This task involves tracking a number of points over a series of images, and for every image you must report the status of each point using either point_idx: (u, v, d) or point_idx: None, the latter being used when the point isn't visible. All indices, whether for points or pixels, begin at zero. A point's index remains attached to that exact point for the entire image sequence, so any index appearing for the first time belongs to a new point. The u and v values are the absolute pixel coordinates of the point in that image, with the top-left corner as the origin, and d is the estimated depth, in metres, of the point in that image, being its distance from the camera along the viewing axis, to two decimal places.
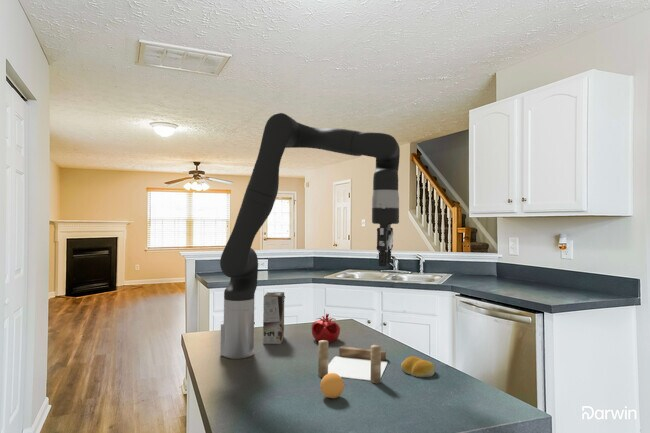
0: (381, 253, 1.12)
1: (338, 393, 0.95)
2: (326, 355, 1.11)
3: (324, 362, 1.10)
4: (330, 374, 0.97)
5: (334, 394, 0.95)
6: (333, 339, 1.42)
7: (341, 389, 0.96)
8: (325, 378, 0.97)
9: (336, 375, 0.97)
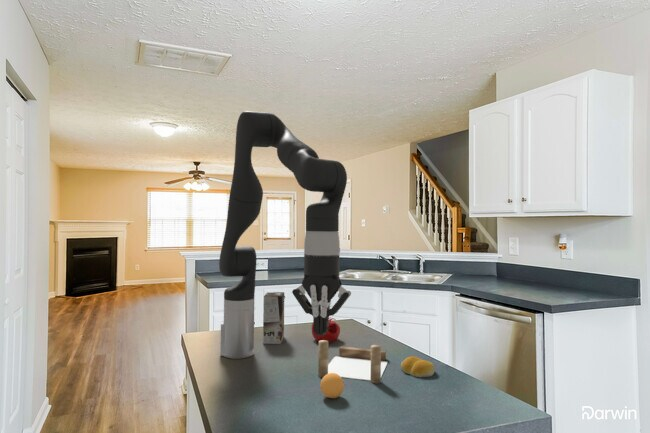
0: (327, 318, 0.88)
1: (338, 393, 0.95)
2: (326, 355, 1.11)
3: (324, 362, 1.10)
4: (330, 374, 0.97)
5: (334, 394, 0.95)
6: (333, 339, 1.42)
7: (341, 389, 0.96)
8: (325, 378, 0.97)
9: (336, 375, 0.97)
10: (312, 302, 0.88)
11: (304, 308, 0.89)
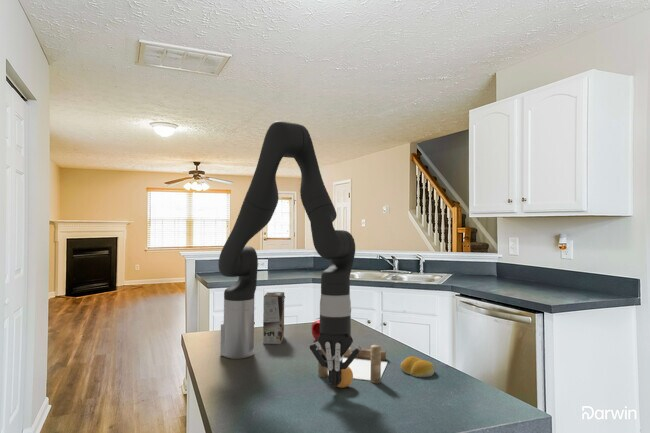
0: (340, 371, 1.00)
1: (348, 373, 1.02)
2: None
3: None
4: None
5: (345, 370, 1.02)
6: None
7: (351, 374, 1.03)
8: None
9: None
10: (327, 357, 0.99)
11: (320, 362, 1.00)
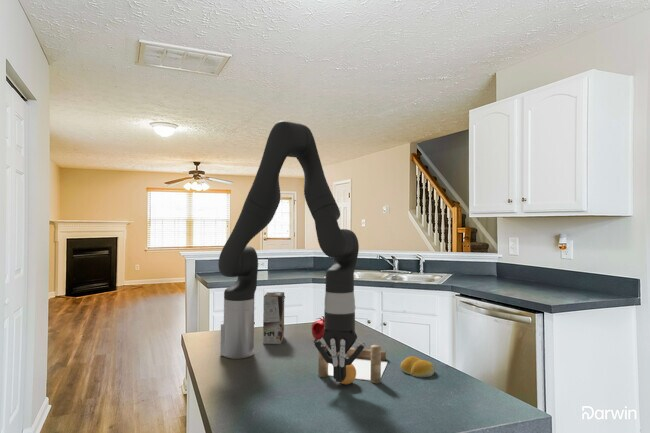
0: (345, 367, 1.02)
1: (353, 368, 1.05)
2: None
3: (324, 362, 1.10)
4: None
5: (350, 365, 1.05)
6: None
7: (355, 371, 1.05)
8: None
9: None
10: (332, 353, 1.02)
11: (325, 358, 1.03)
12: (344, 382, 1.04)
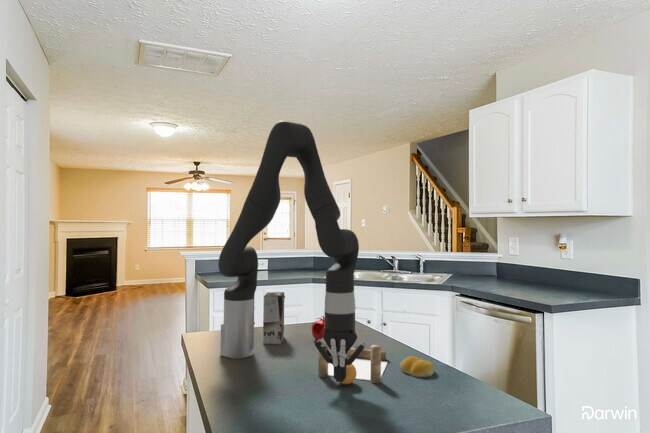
0: (345, 367, 1.02)
1: (353, 368, 1.05)
2: None
3: (324, 362, 1.10)
4: None
5: (351, 364, 1.05)
6: None
7: (355, 371, 1.05)
8: None
9: None
10: (332, 353, 1.02)
11: (325, 358, 1.03)
12: (344, 382, 1.04)
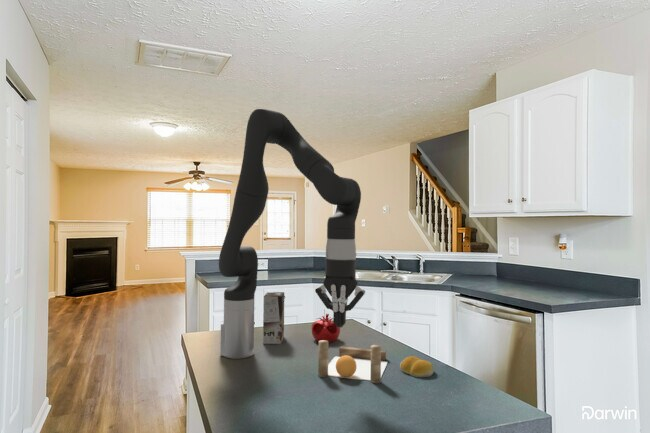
0: (345, 313, 1.04)
1: None
2: (326, 355, 1.11)
3: (324, 362, 1.10)
4: None
5: None
6: (333, 339, 1.42)
7: None
8: None
9: (351, 375, 1.10)
10: (332, 299, 1.03)
11: (325, 304, 1.04)
12: (345, 358, 1.10)
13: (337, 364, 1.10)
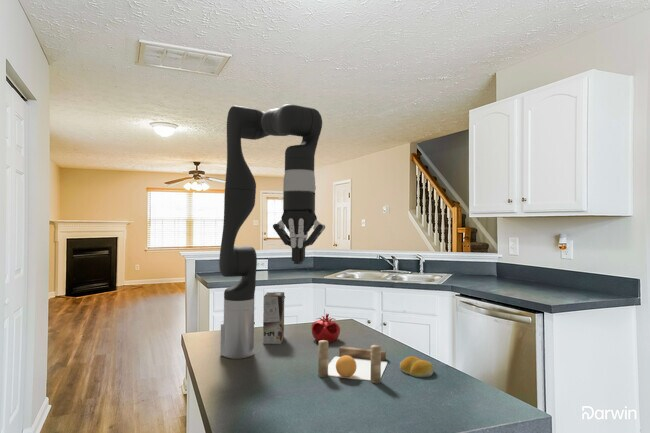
0: (303, 249, 0.98)
1: None
2: (326, 355, 1.11)
3: (324, 362, 1.10)
4: None
5: None
6: (333, 339, 1.42)
7: None
8: None
9: (351, 375, 1.10)
10: (290, 234, 0.97)
11: (283, 240, 0.98)
12: (345, 358, 1.10)
13: (337, 364, 1.10)
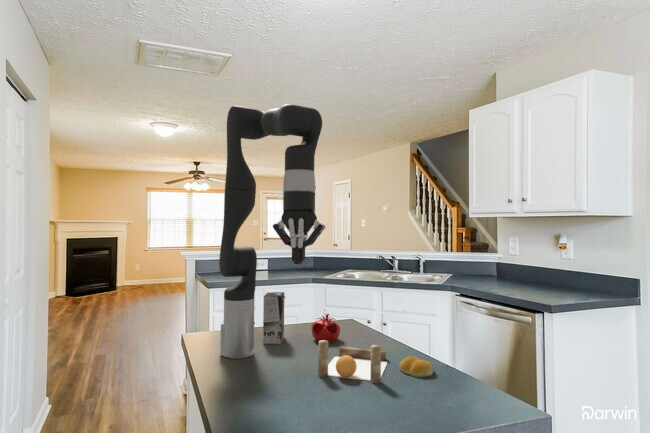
0: (303, 249, 0.98)
1: None
2: (326, 355, 1.11)
3: (324, 362, 1.10)
4: None
5: None
6: (333, 339, 1.42)
7: None
8: None
9: (351, 375, 1.10)
10: (290, 234, 0.97)
11: (283, 240, 0.98)
12: (345, 358, 1.10)
13: (337, 364, 1.10)
